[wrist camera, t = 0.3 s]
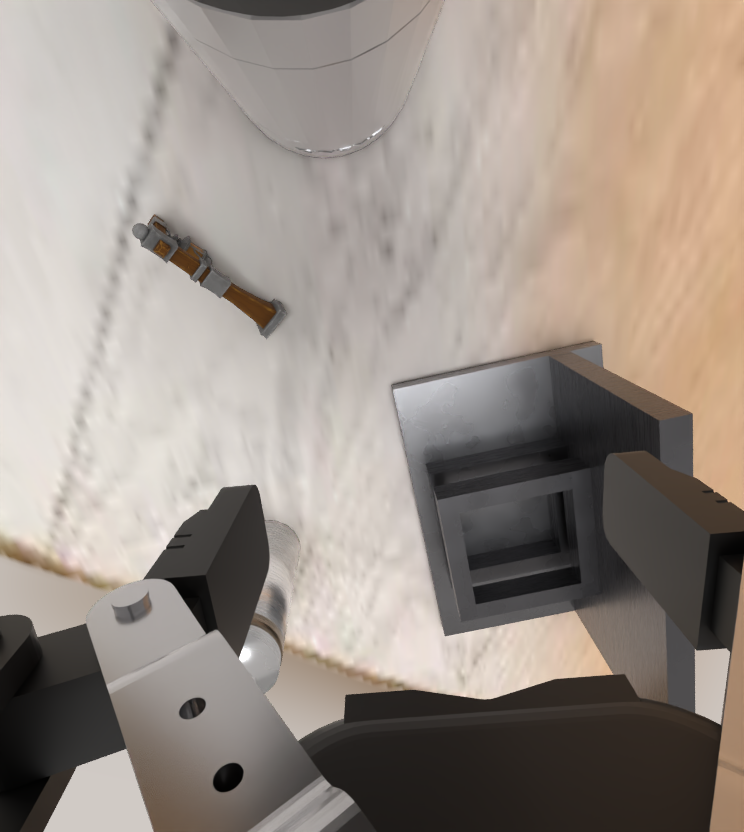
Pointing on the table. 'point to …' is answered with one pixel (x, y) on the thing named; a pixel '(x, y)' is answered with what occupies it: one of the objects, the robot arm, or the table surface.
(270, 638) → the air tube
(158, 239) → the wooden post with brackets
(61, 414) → the table surface
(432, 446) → the collar stand
